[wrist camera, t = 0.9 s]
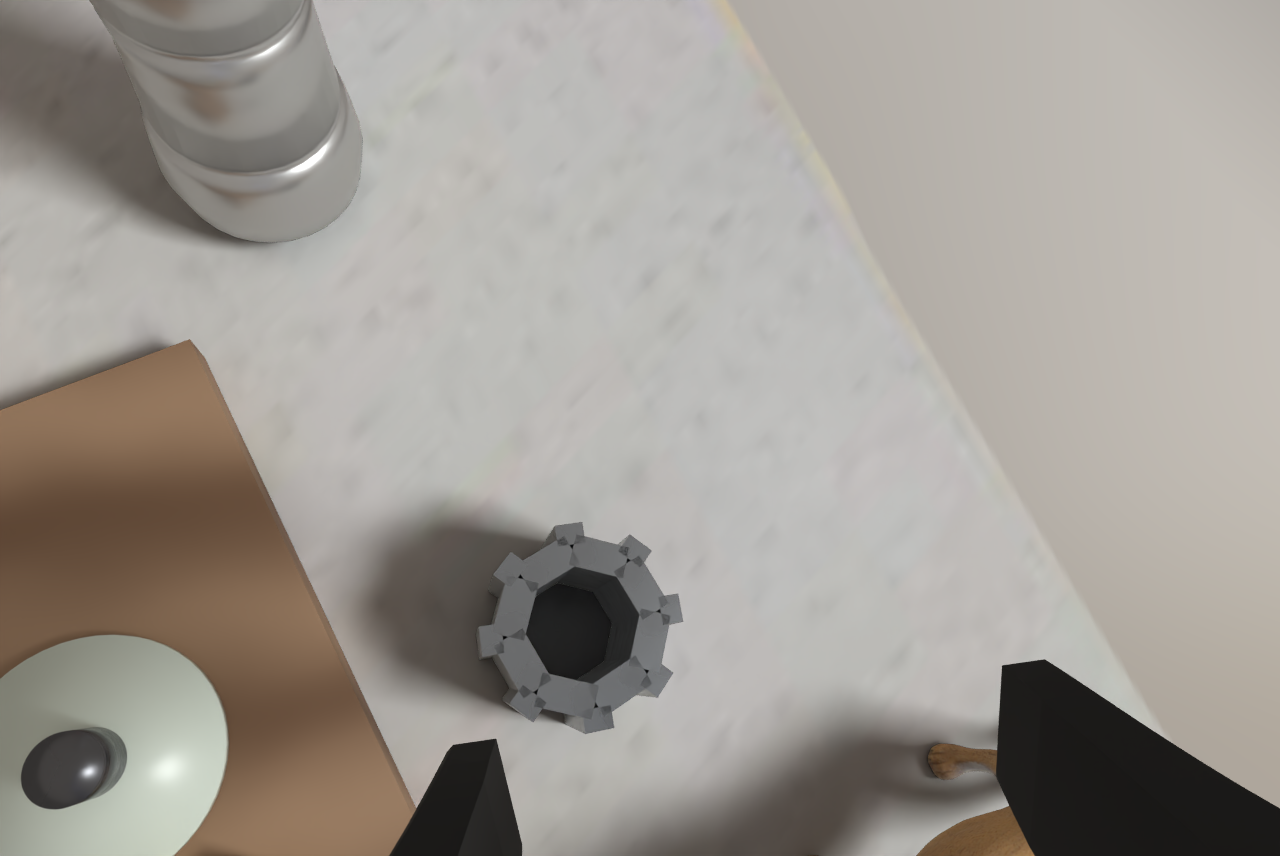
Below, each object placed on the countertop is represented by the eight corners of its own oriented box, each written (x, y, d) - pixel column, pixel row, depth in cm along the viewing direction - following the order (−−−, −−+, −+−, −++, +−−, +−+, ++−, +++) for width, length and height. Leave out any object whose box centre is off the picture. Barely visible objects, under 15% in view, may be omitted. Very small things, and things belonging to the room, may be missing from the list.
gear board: (521, 1033, 23) (532, 1098, 20) (31, 1392, 19) (-67, 1555, 16) (204, 357, 27) (165, 309, 23) (-266, 538, 23) (-400, 512, 19)
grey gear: (626, 738, 26) (658, 750, 22) (458, 700, 26) (457, 705, 21) (661, 570, 28) (696, 551, 24) (504, 530, 27) (512, 504, 23)
